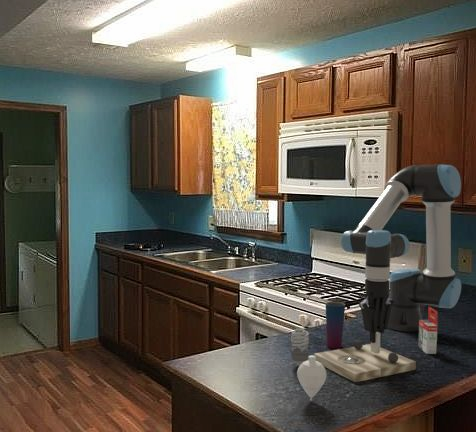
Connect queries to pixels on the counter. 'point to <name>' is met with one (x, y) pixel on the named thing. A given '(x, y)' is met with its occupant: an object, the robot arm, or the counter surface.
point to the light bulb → (298, 352)
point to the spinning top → (311, 376)
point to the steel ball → (350, 360)
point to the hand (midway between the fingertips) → (375, 351)
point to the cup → (334, 323)
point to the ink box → (428, 332)
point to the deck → (363, 363)
